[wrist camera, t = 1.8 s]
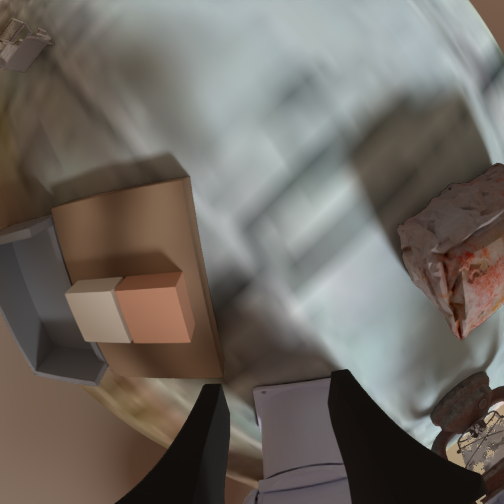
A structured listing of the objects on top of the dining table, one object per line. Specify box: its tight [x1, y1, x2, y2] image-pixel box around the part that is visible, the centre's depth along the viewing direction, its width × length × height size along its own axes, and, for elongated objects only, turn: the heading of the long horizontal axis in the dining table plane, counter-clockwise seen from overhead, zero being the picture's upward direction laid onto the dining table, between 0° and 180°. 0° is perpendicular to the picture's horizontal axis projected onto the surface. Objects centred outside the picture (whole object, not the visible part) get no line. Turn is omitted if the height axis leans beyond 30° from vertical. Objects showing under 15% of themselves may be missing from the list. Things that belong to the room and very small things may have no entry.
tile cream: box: [65, 277, 132, 343], centre depth 17 cm, size 4×4×2 cm
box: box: [0, 214, 109, 387], centre depth 18 cm, size 8×13×4 cm, turn 6°
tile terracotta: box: [115, 271, 195, 343], centre depth 17 cm, size 4×4×2 cm
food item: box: [397, 163, 504, 341], centre depth 13 cm, size 14×8×10 cm, turn 121°
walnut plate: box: [51, 176, 224, 378], centre depth 19 cm, size 10×15×2 cm, turn 6°
